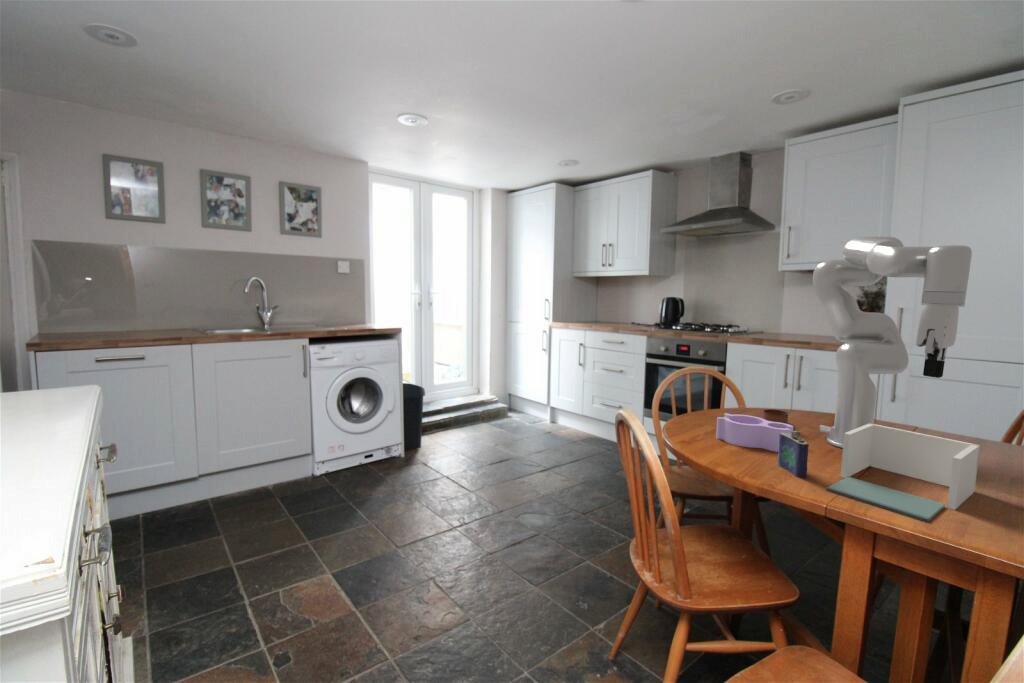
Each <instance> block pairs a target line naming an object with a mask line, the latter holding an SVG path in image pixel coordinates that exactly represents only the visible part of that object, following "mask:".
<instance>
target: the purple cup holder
mask: <svg viewBox="0 0 1024 683" xmlns="http://www.w3.org/2000/svg"><path fill="white" fill-rule="evenodd" d="M790 431H794V430H793V426H791V425H789V424H785V423H780V422H772V421H767V420H765V419H763V417H759V416H754V415H747V414H731V413H727V412H726V413H725V412H724V413H723V417H722V416H721V417H720V416H718V417H717V418H716V432H715V439H716V440H722V441H724V442H725V443H728V444H731V445H733V446H739V447H742V448H743V447H744V448H756V449H757V448H758V449H764V450H767V451H770V452H774V453H775V452H776V453H778V450H779V433H787V434H792V433H791V432H790Z"/></svg>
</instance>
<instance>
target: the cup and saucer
mask: <svg viewBox="0 0 1024 683" xmlns="http://www.w3.org/2000/svg"><path fill="white" fill-rule="evenodd" d="M762 419H765V420H767V421H772V422H780V423H785V424H789V425H791V426H793V431H796V426H795V425H794V424H792V423H790V422H788V421H789V413H788V412H787V411H785V410H780V409H763V410H762Z"/></svg>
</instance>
